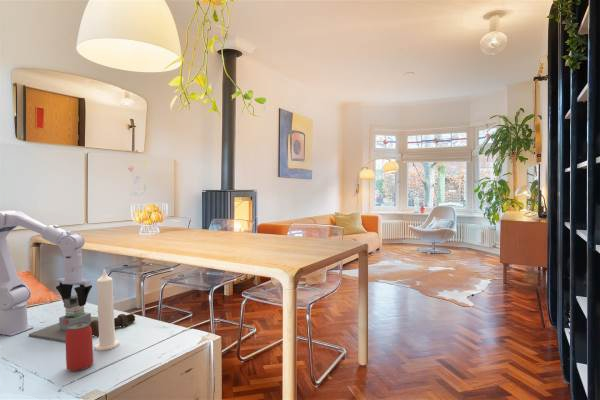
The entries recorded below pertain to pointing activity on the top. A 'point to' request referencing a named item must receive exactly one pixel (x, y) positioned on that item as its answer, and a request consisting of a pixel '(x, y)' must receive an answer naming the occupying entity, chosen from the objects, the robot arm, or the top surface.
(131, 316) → the bolt
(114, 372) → the top surface
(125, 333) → the top surface
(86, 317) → the jack base
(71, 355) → the beer can
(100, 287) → the candle
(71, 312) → the tall silver metal block
